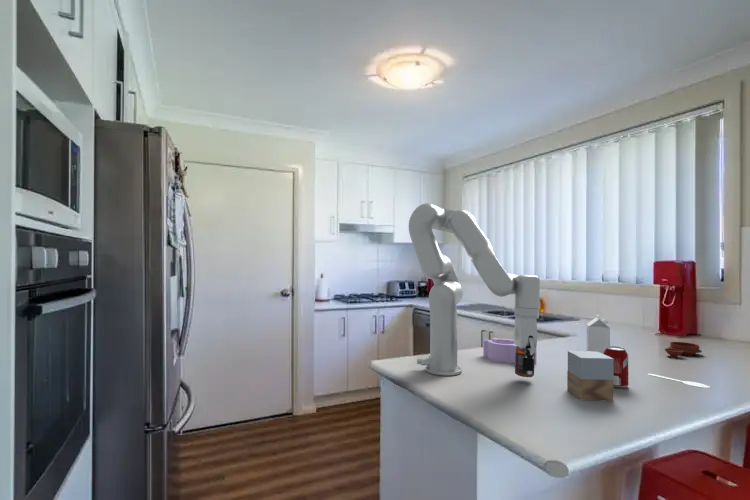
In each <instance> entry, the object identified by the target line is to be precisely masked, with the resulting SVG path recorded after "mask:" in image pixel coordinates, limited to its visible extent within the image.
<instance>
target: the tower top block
mask: <svg viewBox="0 0 750 500" xmlns="http://www.w3.org/2000/svg"><path fill="white" fill-rule="evenodd" d="M567 371H569V372H571V373H572V374H574V375H575V376H577V377H579V378H580V379H596V380H614V365H613V358H611V357H609V356H607V355H604V354H602V353H600V352H593V351H587V350H585V351H584V350H583V351H582V350H579V351H578V350H568V351H567Z"/></svg>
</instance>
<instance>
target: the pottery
mask: <svg viewBox="0 0 750 500" xmlns="http://www.w3.org/2000/svg"><path fill="white" fill-rule="evenodd" d="M669 344H670V345H669V346H668V347H666V348H664V351H665V352H666V353H667V354H668V356H669V358H673V359H676V358H677V359H678V358H679V356H681V355H683V356H694V355H695V354H697V353H698V354H700V353H702V352H703V351H702V350H701V349H700V345H699V344H696V343H692V342H686V341H685V342H684V341H671V342H669Z"/></svg>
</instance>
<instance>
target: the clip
mask: <svg viewBox="0 0 750 500" xmlns="http://www.w3.org/2000/svg"><path fill="white" fill-rule="evenodd" d="M482 343H483V345H482V346H483V358H487V359H488V360H491V361H494V362H499V363H510V364H511V363H512V364H515V356H516V347H517V345H515V344H514V342H513V339H509V338H496V337H492V338H491V339H483V341H482ZM536 364H537V348H536V349H535V364H534V365H536Z"/></svg>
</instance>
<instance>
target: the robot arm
mask: <svg viewBox="0 0 750 500" xmlns="http://www.w3.org/2000/svg"><path fill="white" fill-rule="evenodd" d="M408 220H409V221H408V232H409V237H410V240H411V242H412V245H413V248H414V251H415V254H416V257H417V259H418V263H419V266H420V268H421V272H422V274H423V276H425V277H426V278H427V279H430V280H432V283H433V286H432V287H431V288H430V291H429V293H428V303H429V304H428V306H429V315H430V316H429V320H430V323H429V326H430V327H429V328H430V330H429V336H430V338H429V339H430V344H429V345H430V346H429V351H430V352H429V355H428V358H427V357H426V358H424V359H423V358H417V359H416V365H420V366H425V371H426V372H427V373H429V374H432V375H437V376H442V377H443V376H444V377H445V376H451V377H452V376H457V375H460V374H461V373H462V372H463V371H462V369H463V368H462V367H460V366H458V309H457V304H459V303H460V302H461V300H462V299H463V292H464V291H463V288H462V285H461V282H460V279H459V277H458V274H457V271H456V270H455V266H454V264H453V261H452V260H451V259H450V257H448V256H447V254H446V255H445V254H443V253H442V251H441V250H440V247H439V244H438V241H437V239H436V236H435V235H434V232H433V230H438V231H442V232H446V233H450V234H453V235H454V236H455V238H456V239H457V241H458V242H459V243H460V246H461V247H462V249H464V251H465V253H466V254H467V255H468V257H469V259H470V261H471V263H472V264H473V266H474V268H475V269H476V271H477V273H478V274H479V276H480V278H481V280H482V281H483V282H484V284H485V285H486V287H487V288H488V289H489V291H490V292H491V293H492V294H494V295H495V296H497V297H507V296H509V295H514V318H515V320H514V327H513V336H512V337H513V338H512V340H513V342H514V344H515V345H517V346H518V347H519V348H521V349H523V348H524V358H523V370H524V371H533V367H534V368H535V364H534V352H535V349H536V350H537V346H538V344H537V343H538V325H537V323H538V321H537V319H539V318H540V317H539V315H540V291H541V290H540V289H541V279H540V277H539V276H538V275H533V274H513V273H507V271H506V270H505V269H504V268H503V266H502V264H501V263H500V261H499V260H498V258H497V257H496V255H495V252H494V250H493V246H492V243H491V242H490V240H489V239H488V237H487V236H486V235H485V233H484V231H482V229H481V228H480V226H479V224H478V223H477V220H476V217H475V216H474V215H473V214H472V213H471V212H469V211H467V210H465V209H459V210H458V209H457V210H453V209H448V208H444V207H439V206H438V205H435V204H433V203H426V202H425V203H422V204H420V205H418V206H417V207H416V208H415V209H414V210H413V211H412V212H411V215H410V217H409V219H408ZM526 347H530V348H526ZM527 351H528V352H527Z"/></svg>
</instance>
